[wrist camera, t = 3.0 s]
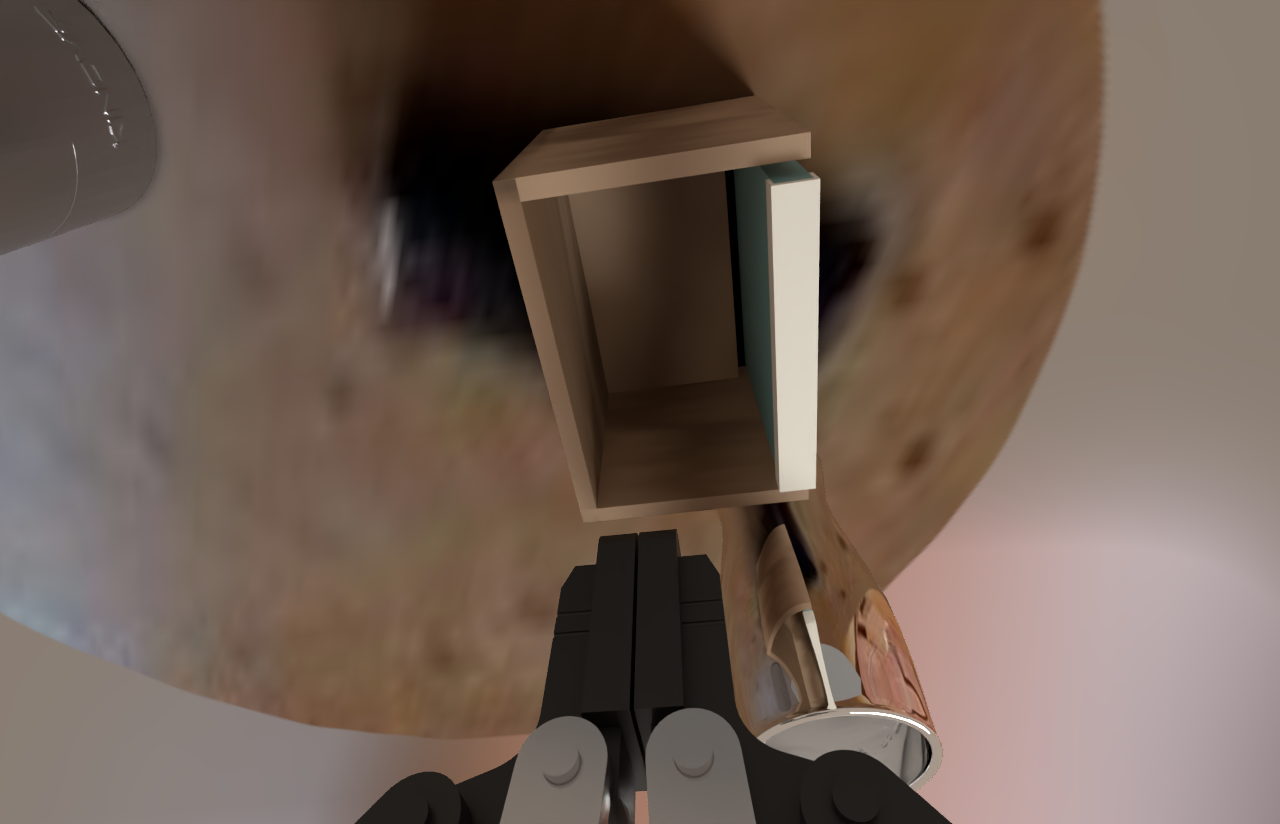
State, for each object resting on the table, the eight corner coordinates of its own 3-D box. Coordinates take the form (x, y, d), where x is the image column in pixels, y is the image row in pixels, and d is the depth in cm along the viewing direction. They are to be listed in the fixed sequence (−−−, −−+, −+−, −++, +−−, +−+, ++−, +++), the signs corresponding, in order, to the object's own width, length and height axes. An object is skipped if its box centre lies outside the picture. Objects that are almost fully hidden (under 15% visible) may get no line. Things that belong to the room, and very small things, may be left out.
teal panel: (742, 362, 28) (779, 492, 20) (728, 130, 23) (770, 185, 15) (768, 359, 28) (815, 488, 20) (760, 125, 23) (820, 178, 15)
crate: (599, 394, 29) (583, 522, 22) (543, 129, 23) (492, 181, 15) (766, 374, 29) (808, 499, 21) (755, 95, 22) (810, 131, 15)
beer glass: (752, 400, 30) (830, 680, 17) (857, 460, 32) (998, 751, 19) (673, 492, 33) (690, 783, 20) (773, 541, 35) (846, 835, 22)
